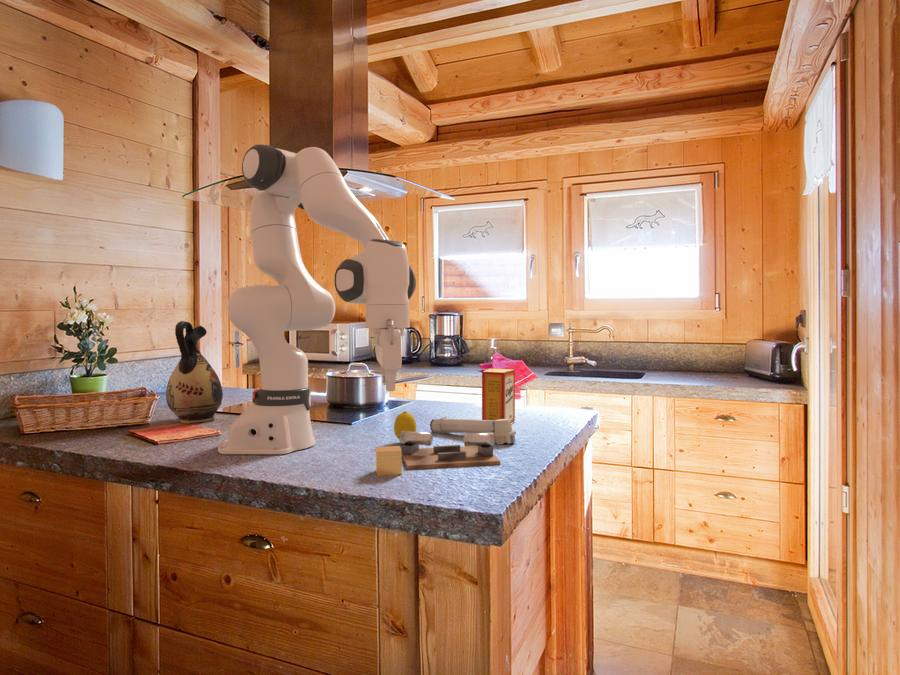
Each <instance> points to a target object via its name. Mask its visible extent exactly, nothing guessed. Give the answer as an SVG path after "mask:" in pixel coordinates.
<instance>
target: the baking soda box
mask: <svg viewBox="0 0 900 675" xmlns="http://www.w3.org/2000/svg"><path fill="white" fill-rule="evenodd" d="M515 390H516V369H513V368H511V369H509V368H488V369H486V370H482V372H481V420H493V421H495V420H499V419H509V420H510V422H511V423H512V422H514V421H516V420H515V419H516V418H515V417H516V415H515V414H516V413H515V410H516V407H515V406H516V404H515V402H516V397H515V396H516V395H515V394H516V393H515V392H516V391H515ZM514 423H515V422H514Z"/></svg>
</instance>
